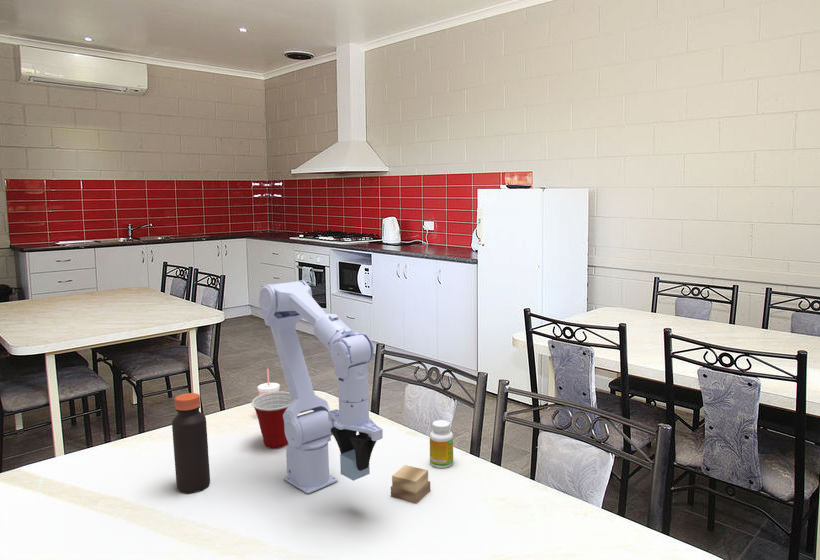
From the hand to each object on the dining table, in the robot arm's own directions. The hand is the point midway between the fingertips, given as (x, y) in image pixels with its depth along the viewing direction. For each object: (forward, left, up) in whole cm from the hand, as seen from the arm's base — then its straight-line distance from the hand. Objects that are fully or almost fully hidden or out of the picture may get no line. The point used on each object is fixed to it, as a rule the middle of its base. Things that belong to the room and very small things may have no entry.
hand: (355, 464), depth 114 cm
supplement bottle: (-2, +27, -10) cm, 28 cm away
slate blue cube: (0, 0, -2) cm, 2 cm away
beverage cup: (-57, +15, -10) cm, 60 cm away
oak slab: (+3, +12, -7) cm, 14 cm away
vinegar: (-33, -18, -10) cm, 39 cm away
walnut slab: (+3, +12, -10) cm, 16 cm away
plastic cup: (-39, +6, -10) cm, 40 cm away
